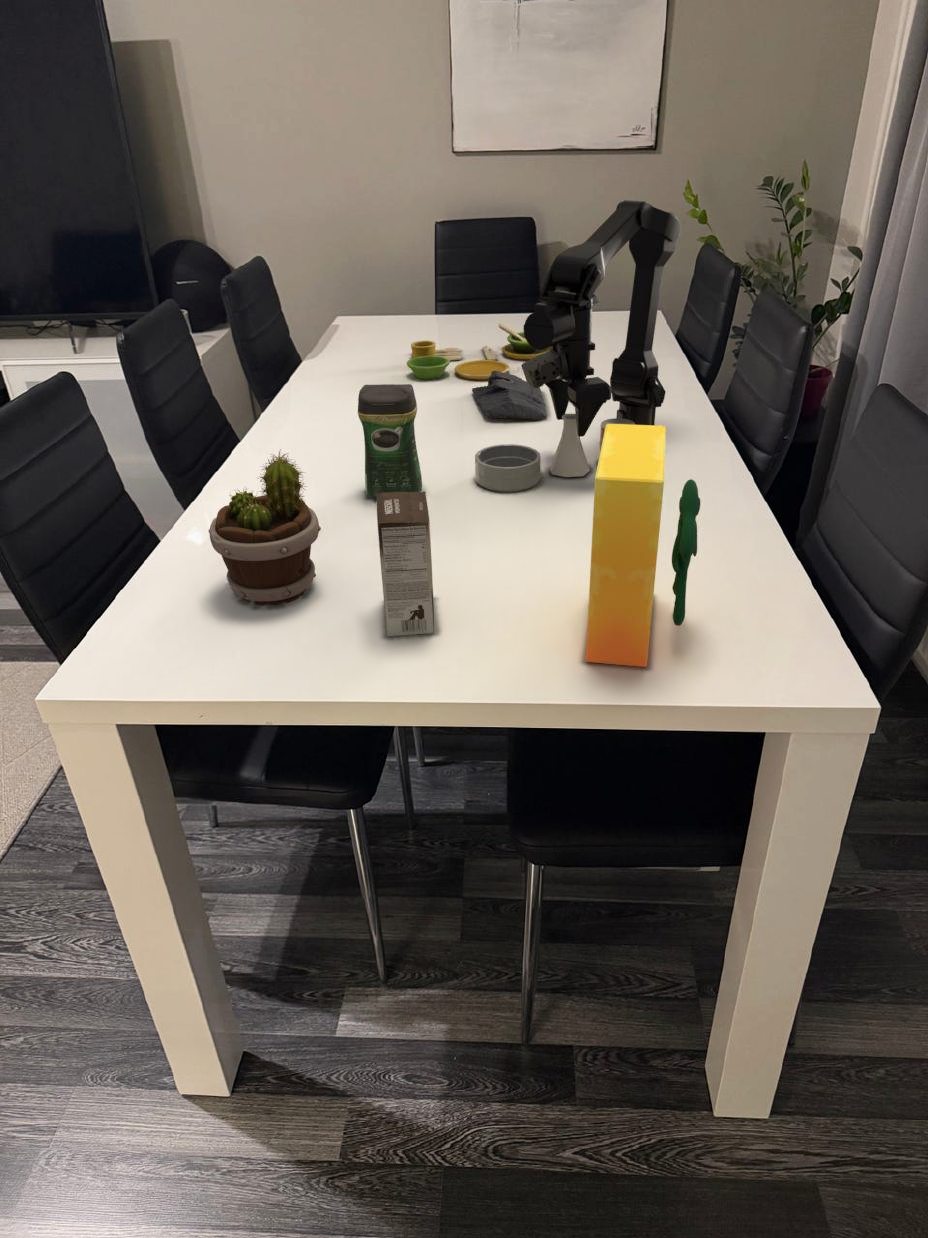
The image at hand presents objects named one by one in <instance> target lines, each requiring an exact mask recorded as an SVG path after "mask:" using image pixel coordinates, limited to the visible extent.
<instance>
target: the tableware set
mask: <svg viewBox="0 0 928 1238" xmlns="http://www.w3.org/2000/svg"><path fill="white" fill-rule="evenodd" d="M498 328H499V329H500V330H502V331H503V332H505V333H507V334H508V336H507V337H506V339H507V341H508V344H505V345H504V346H502V347H501V351H502V352H503V354H505V356H507V357H508V358H511V359H516V360H530V359H532V358H534V357H536V356H538V355H540V354H543V353H546V352H548V351H550V347H548V348H546V349H542V350H538V349H535V348H533V347H532V346H530V345H529V343H528V342H527V340H526V338H525V335H524V331H520V332H516V331H514V330H513V329H512V328H510V327H509V326H507V325H506V324H504V323H499V324H498ZM436 345H437V343H436V342H435V341H433V340H418V341H414V342H412V343H410V347H411V351H412V352H411V358H410V359H408V360H407V361H406V366H407V367H408V369H410V370H411V371H412V374H414V376H415V377H416V378H418V379H419V380H420V379H421V380H435V379H438V378H440V377H442V376H443V374H444V373H445V371H446V369H447V367H448V366H449V365H450V363H451V361H460V360H462V354H461V352H460V351H461V349H460V348H459V347H447V348H443V349H436ZM482 350H483V354H484V357H485V359H479V360H469V361H464V362H461V363H459V364H457V365H456V366H455V367H454V368H453V369H454V370H453V371H454V372H455V373H456V374H458V376H459V377H461V378H464V379H469V380H488V378H489V377H490V376H491V373H492V371H499V372H502V373H507V372H508V371H509V370H510V365H509V364H508V363H505V362H503V361H499V360H497V355H496V353H495V352H494V351H491V350H490V347H489V345H484V346H483V347H482Z"/></svg>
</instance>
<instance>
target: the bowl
mask: <svg viewBox="0 0 928 1238" xmlns="http://www.w3.org/2000/svg"><path fill="white" fill-rule="evenodd" d="M541 459H542V458H541V453H540V451H538V450H537V449H535V448H533V447H531V446H526V445H522V444H510V443H507V444H496V445H491V446H487V447H483V448H481V449H480V450H477V451H476V453H475V454H474V473H475V481H476V483H477V484H478V485H479V486H481V487H483V488H484V489H486V490H490V491H493V492H498V493H499V492H500V493H513V492H514V493H515V492H522V491H526V490H528V489H531V488H533V487H534V486H535V485H537V484H538V483H539V482H540V480H541V462H542V461H541Z"/></svg>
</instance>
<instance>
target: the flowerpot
mask: <svg viewBox="0 0 928 1238" xmlns="http://www.w3.org/2000/svg"><path fill="white" fill-rule="evenodd" d="M281 450H282V448H280V449H279V451H278V456H277V455H275V454H274V453H273V454H271V453H270V455H271V456H270V458H271V459H269V458H267V462H266V463H264V464H263V465H262V466H261V465H260V466H259V467H262V469H261V471H263V473H262V474H261V475H260V476H258V477H257V478H256V480H258V479H259V482H260V483H261V485H260V488H261V491H259V490H258V491H257V492H256V495H254V491H251V492H248V491H247V490H248V489H249V488H248V487H246V488H245V489H243V490H242V491H240V490H239V489H236V490H234V489H233V490H232V489H231V492H232V491H234V492H235V495H232V494H229V497H230V501H229V503H228V505H224V506H222V507H221V508H220V509H219V510H218V512H217V513H216V514H217V515H216V517H215V518H214V519H213V520H212V521H211V523H210V526H209V529H208V534H209V541H210V543H211V546H212V548H213V550H214V551H215V552H216V553H217V554H219V555H220V556H221V558H222V560H223V562H224V566H225V567H226V569H227V572H226V580H227V582H228V584H229V586H230V589H231V590H232V592H233V594H235V595H236V596H237V597H239V599H240V600H241V601H243V602H245V603H247V602H253V603H254V605H256V606H258V607H264V606H271V607H272V606H280V605H283V604H288V603H291V602H294V601H296V600H298V599H299V598H300V597H301V596H302V597H303V596H304V594H305V593H306V592H307V590H308V588H309V587H310V586H311V585H312V583H313V581H314V578H316V577H317V574H316V566H315V563H314V562H313V560H312V559H311V550H312V545H313V544H314V543H315V542H316V541H317V540H318V537H319V533H320V531H321V529H322V528H321V526H320V522H319V519H318V516H317V514H316V512H315V511H314V510H313V509H312V508H310V507H309V506H308V504H307V503H306V502H305V500H304V499H303V498H304V495H303V493H304V490H305V491H306V489H305V488H307V486H306V485H305V482H302V481H304V478H303V474H306V472H304V471H302V469H300V467H298V465H297V464H296V460H294V459H293V458H292V459H291V458H289V452H287V453H283V454H282V455H281ZM279 455H280V456H279ZM286 455H287V456H286ZM285 456H286V457H285ZM292 460H293V461H294V462H293V461H292ZM266 465H267V466H266ZM299 469H300V470H299ZM300 478H301V479H302V480H300ZM262 486H263V487H262ZM304 487H305V488H304ZM236 491H237V492H236ZM258 492H259V493H261V495H258ZM301 492H302V493H301ZM306 492H307V491H306ZM257 495H258V496H257Z"/></svg>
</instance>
